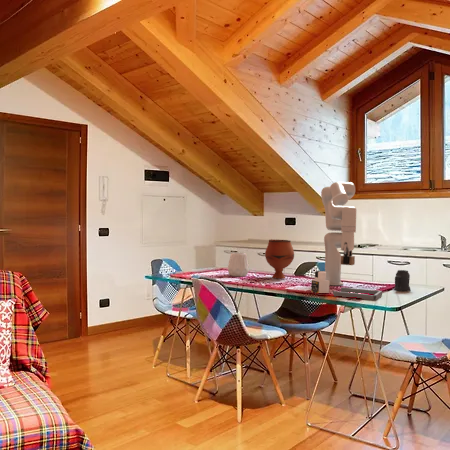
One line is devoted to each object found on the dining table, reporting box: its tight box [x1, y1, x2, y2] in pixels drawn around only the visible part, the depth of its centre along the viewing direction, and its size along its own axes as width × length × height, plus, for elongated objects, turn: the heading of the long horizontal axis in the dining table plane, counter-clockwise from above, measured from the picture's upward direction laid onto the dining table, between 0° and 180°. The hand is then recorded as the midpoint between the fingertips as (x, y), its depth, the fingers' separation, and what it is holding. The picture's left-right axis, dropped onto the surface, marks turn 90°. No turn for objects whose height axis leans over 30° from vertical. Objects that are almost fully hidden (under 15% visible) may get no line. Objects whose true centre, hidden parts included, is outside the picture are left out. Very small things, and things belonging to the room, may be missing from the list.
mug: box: [393, 269, 411, 293], centre depth 285 cm, size 12×9×11 cm
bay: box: [332, 286, 383, 301], centre depth 265 cm, size 22×16×2 cm
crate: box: [341, 255, 356, 266], centre depth 268 cm, size 6×5×4 cm
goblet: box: [264, 238, 295, 280], centre depth 328 cm, size 19×19×25 cm
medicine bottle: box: [310, 270, 330, 294], centre depth 273 cm, size 7×7×12 cm
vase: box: [227, 252, 250, 278], centre depth 336 cm, size 14×14×15 cm
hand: (347, 263), depth 268 cm, fingers closed on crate, 5 cm apart
